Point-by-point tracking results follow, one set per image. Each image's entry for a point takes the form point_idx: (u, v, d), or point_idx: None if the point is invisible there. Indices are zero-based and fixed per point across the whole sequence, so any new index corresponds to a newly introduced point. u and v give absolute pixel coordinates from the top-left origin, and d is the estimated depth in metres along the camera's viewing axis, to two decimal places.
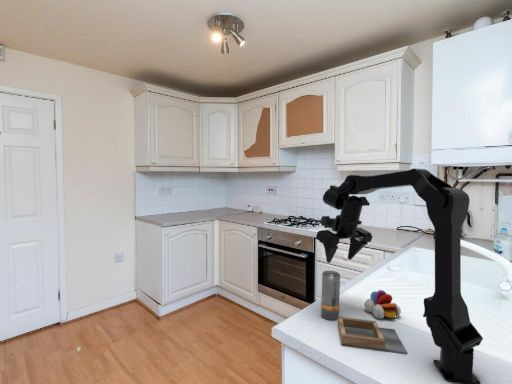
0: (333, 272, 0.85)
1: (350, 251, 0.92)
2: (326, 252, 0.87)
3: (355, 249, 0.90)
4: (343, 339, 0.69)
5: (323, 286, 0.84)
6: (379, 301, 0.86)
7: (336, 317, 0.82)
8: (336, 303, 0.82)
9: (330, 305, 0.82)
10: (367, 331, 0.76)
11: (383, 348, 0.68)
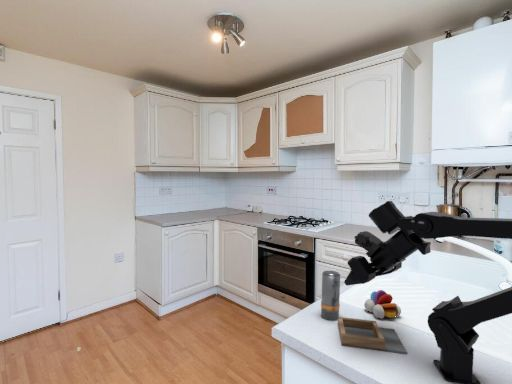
0: (333, 272, 0.85)
1: None
2: (349, 276, 0.73)
3: (376, 273, 0.78)
4: (343, 339, 0.69)
5: (323, 286, 0.84)
6: (379, 301, 0.86)
7: (336, 317, 0.82)
8: (335, 303, 0.82)
9: (330, 305, 0.82)
10: (367, 331, 0.76)
11: (383, 348, 0.68)
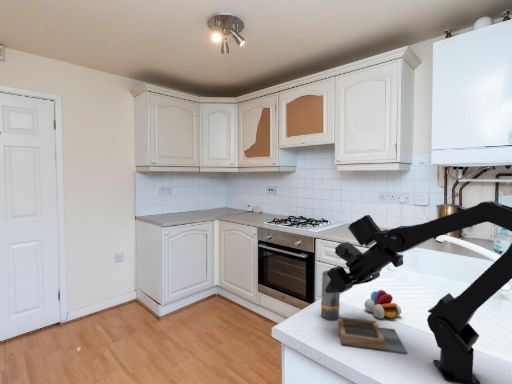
0: None
1: None
2: (330, 285, 0.78)
3: (356, 281, 0.83)
4: (343, 339, 0.69)
5: (323, 286, 0.84)
6: (379, 301, 0.86)
7: (336, 317, 0.82)
8: (336, 303, 0.82)
9: (330, 305, 0.82)
10: (367, 331, 0.76)
11: (383, 348, 0.68)
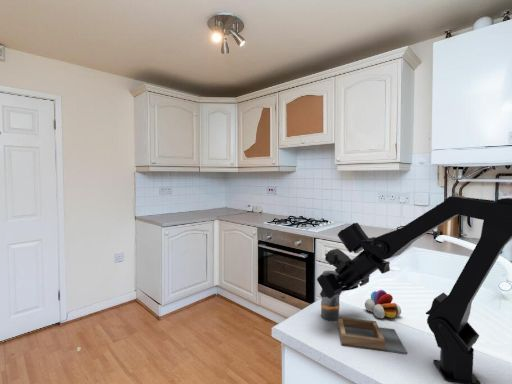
0: (333, 272, 0.85)
1: None
2: None
3: (343, 288, 0.84)
4: (343, 339, 0.69)
5: None
6: (379, 301, 0.86)
7: (336, 317, 0.83)
8: (335, 303, 0.82)
9: (330, 305, 0.82)
10: (367, 331, 0.76)
11: (383, 348, 0.68)
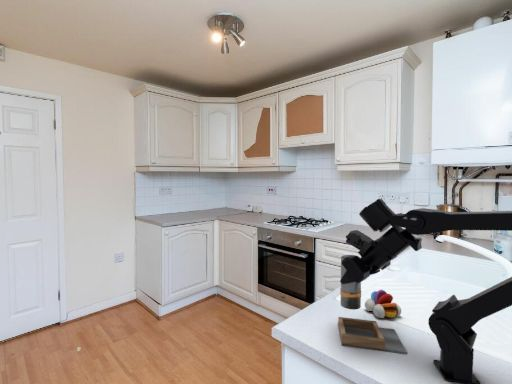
0: None
1: None
2: (346, 275, 0.73)
3: None
4: (343, 339, 0.69)
5: (343, 272, 0.75)
6: (380, 301, 0.86)
7: (359, 305, 0.75)
8: (358, 289, 0.74)
9: (352, 292, 0.74)
10: (367, 331, 0.76)
11: (383, 348, 0.68)
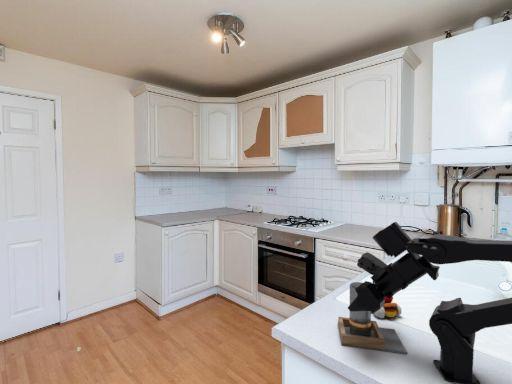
0: None
1: None
2: (355, 302, 0.69)
3: None
4: (343, 339, 0.69)
5: None
6: None
7: (369, 336, 0.72)
8: (368, 320, 0.71)
9: (363, 323, 0.71)
10: None
11: (383, 348, 0.68)
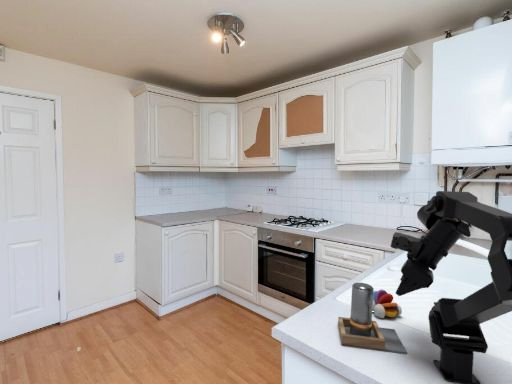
0: (364, 285, 0.73)
1: None
2: (402, 285, 0.67)
3: None
4: (343, 339, 0.69)
5: (355, 302, 0.72)
6: (380, 300, 0.86)
7: None
8: (369, 321, 0.71)
9: (364, 324, 0.71)
10: None
11: (383, 348, 0.68)
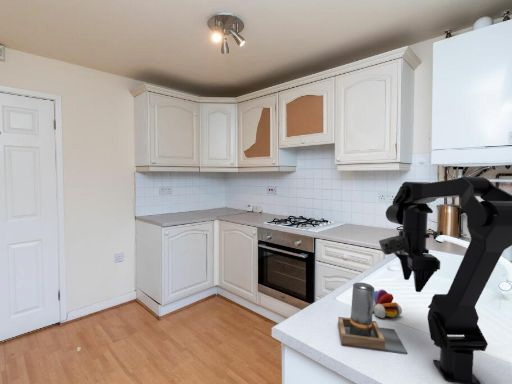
0: (365, 285, 0.73)
1: (405, 270, 0.81)
2: (418, 280, 0.71)
3: None
4: (343, 339, 0.69)
5: (355, 301, 0.72)
6: (380, 300, 0.86)
7: None
8: (370, 321, 0.71)
9: (364, 323, 0.71)
10: None
11: (383, 348, 0.68)
